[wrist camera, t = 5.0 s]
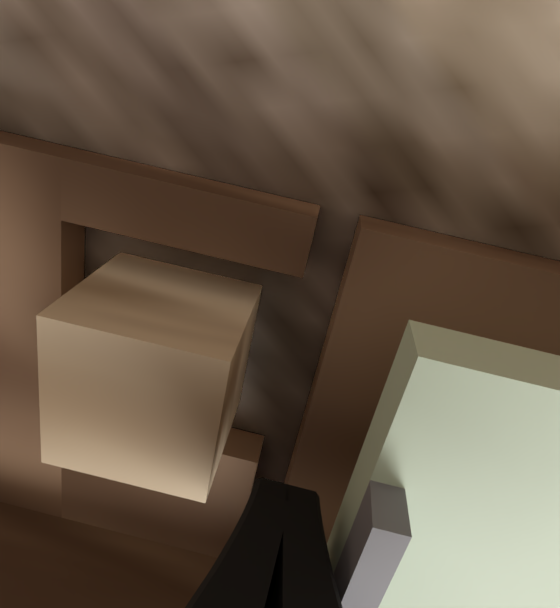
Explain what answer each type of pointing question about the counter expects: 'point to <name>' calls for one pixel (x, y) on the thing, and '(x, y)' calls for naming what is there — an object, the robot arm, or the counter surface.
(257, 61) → the counter surface
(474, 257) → the board
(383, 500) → the cover
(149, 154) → the counter surface
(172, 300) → the block
